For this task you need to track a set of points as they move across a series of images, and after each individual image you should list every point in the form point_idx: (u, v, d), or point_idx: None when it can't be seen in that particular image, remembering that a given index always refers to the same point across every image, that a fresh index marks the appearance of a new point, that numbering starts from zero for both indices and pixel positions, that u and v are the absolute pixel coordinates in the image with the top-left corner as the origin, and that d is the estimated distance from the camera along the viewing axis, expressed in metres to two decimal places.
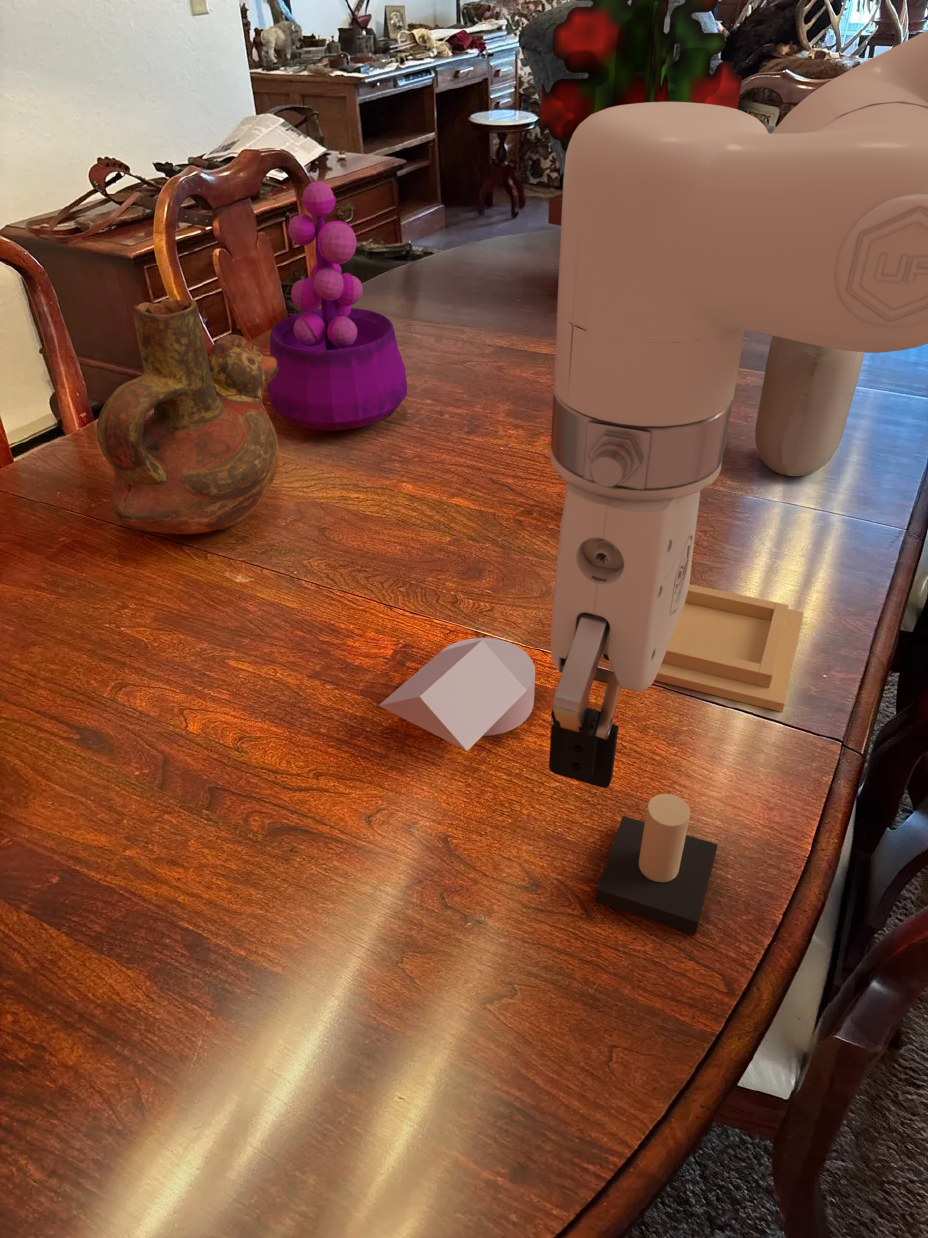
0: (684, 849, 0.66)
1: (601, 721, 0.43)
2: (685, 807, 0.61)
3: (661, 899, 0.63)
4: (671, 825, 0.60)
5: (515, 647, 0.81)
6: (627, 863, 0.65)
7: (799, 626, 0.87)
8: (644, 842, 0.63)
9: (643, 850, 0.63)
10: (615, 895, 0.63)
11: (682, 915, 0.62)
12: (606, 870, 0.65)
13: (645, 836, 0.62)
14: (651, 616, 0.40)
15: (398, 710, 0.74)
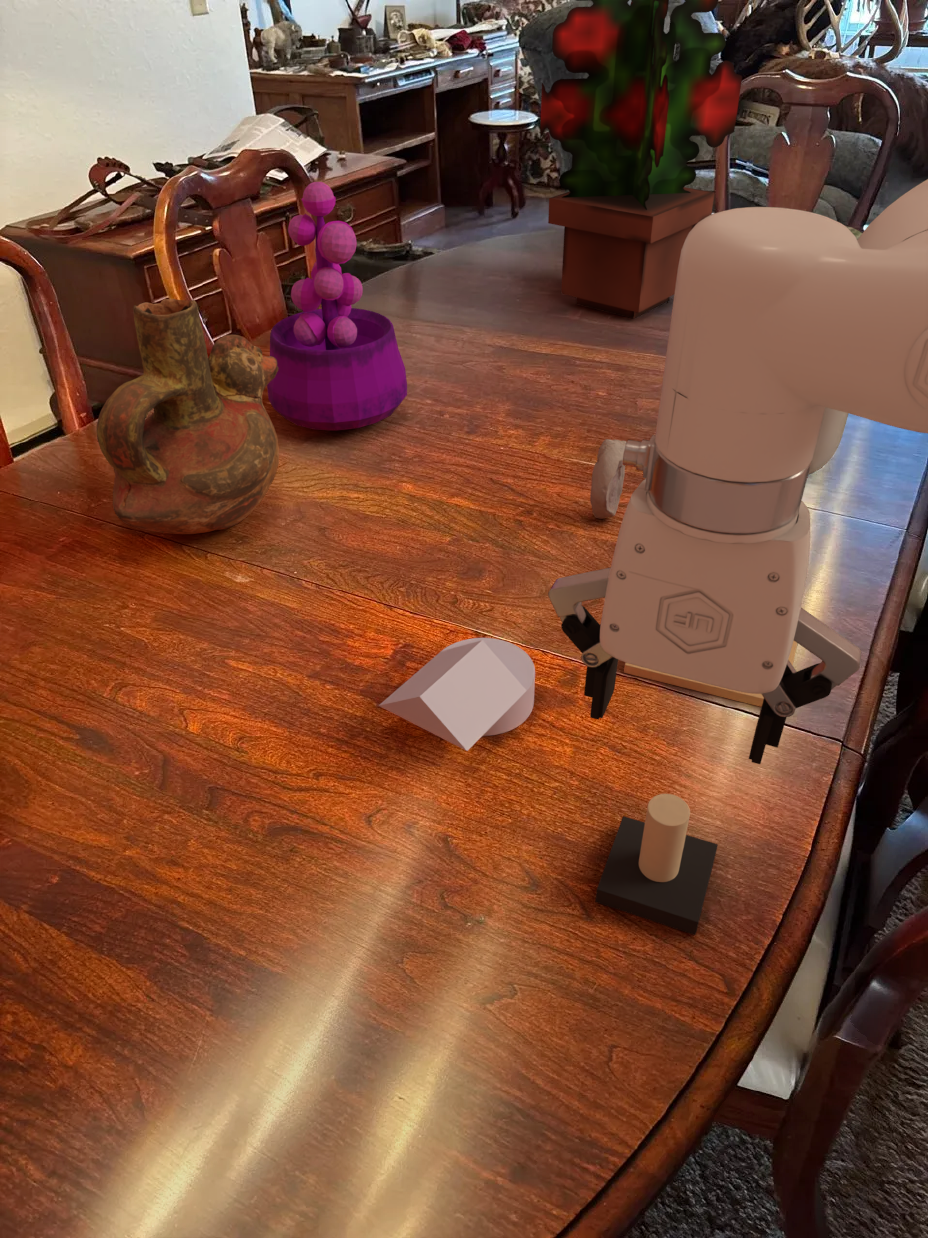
0: (684, 849, 0.66)
1: (587, 647, 0.54)
2: (685, 807, 0.61)
3: (661, 899, 0.63)
4: (671, 825, 0.60)
5: (515, 647, 0.81)
6: (627, 863, 0.65)
7: None
8: (644, 842, 0.63)
9: (643, 850, 0.63)
10: (615, 895, 0.63)
11: (682, 915, 0.62)
12: (606, 870, 0.65)
13: (645, 836, 0.62)
14: (610, 587, 0.50)
15: (398, 710, 0.74)
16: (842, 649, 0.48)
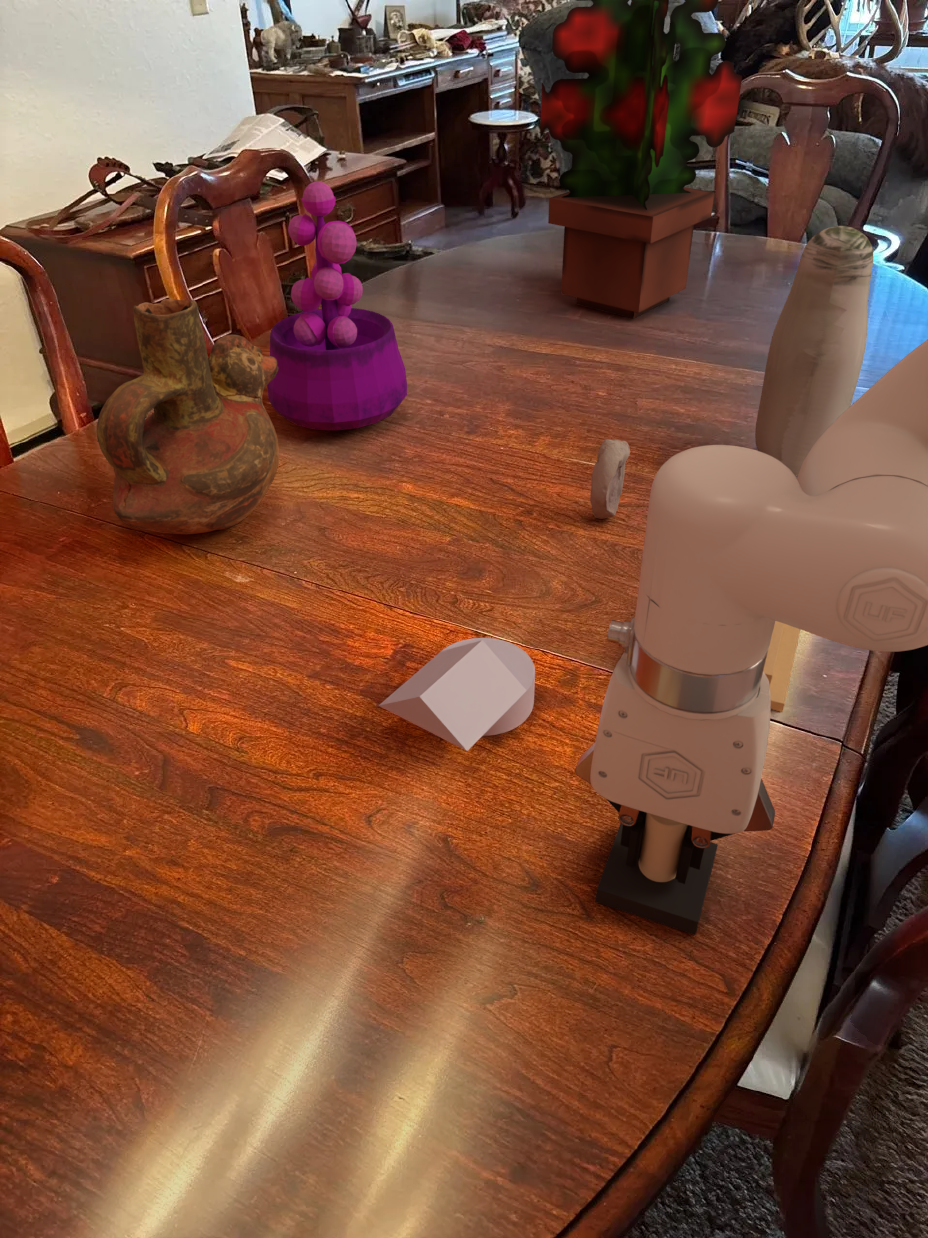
0: None
1: None
2: None
3: (661, 899, 0.63)
4: (671, 825, 0.60)
5: (515, 647, 0.81)
6: None
7: None
8: (644, 842, 0.63)
9: (643, 850, 0.63)
10: (615, 895, 0.63)
11: (682, 915, 0.62)
12: (606, 870, 0.65)
13: (645, 836, 0.62)
14: (598, 741, 0.57)
15: (398, 710, 0.74)
16: (768, 813, 0.57)
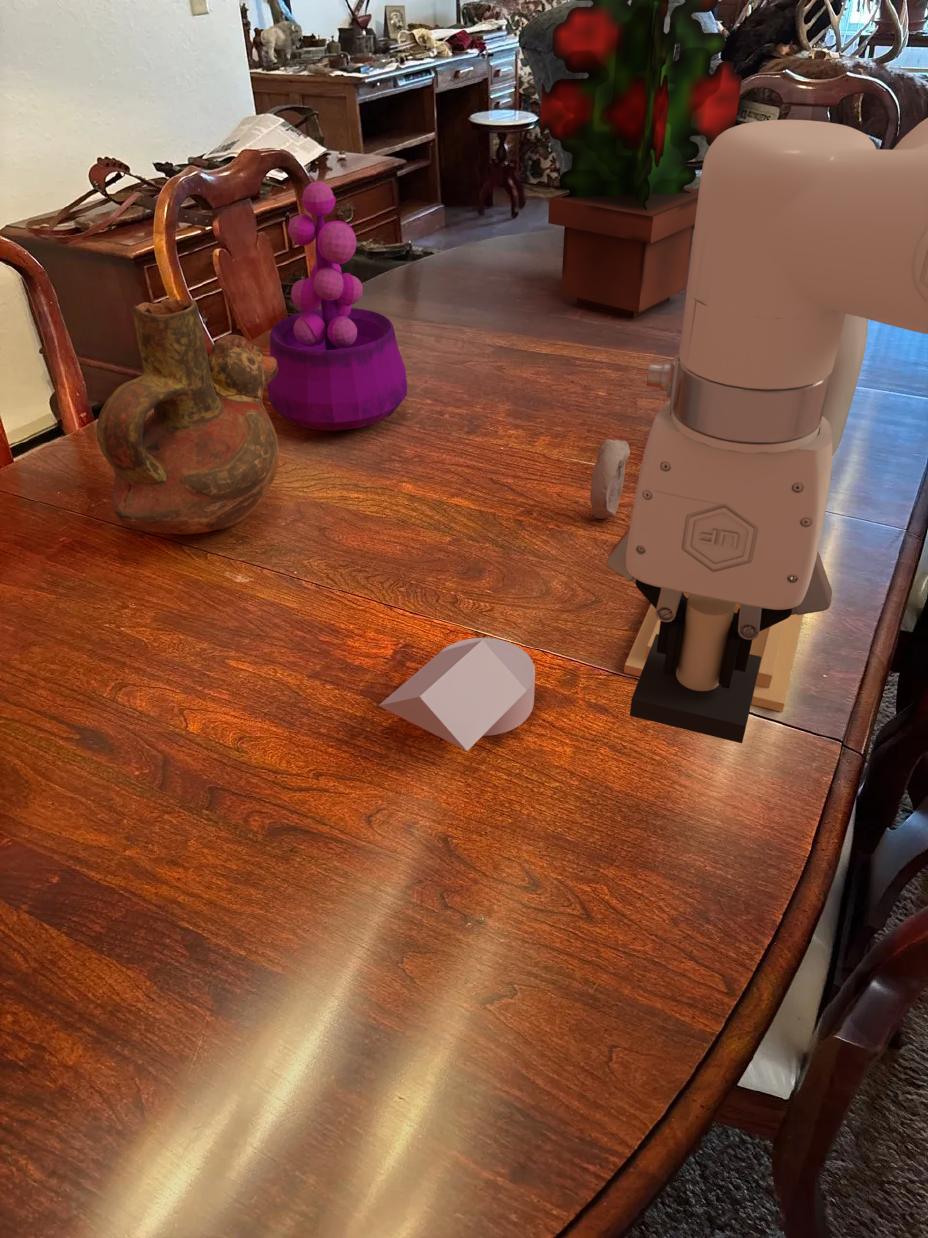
0: None
1: None
2: None
3: (704, 706, 0.57)
4: (716, 614, 0.54)
5: (515, 647, 0.81)
6: (663, 675, 0.59)
7: (799, 626, 0.87)
8: (683, 644, 0.57)
9: (682, 655, 0.57)
10: (653, 703, 0.57)
11: (727, 720, 0.56)
12: (641, 682, 0.59)
13: (685, 636, 0.56)
14: (636, 508, 0.51)
15: (398, 710, 0.74)
16: (825, 587, 0.51)
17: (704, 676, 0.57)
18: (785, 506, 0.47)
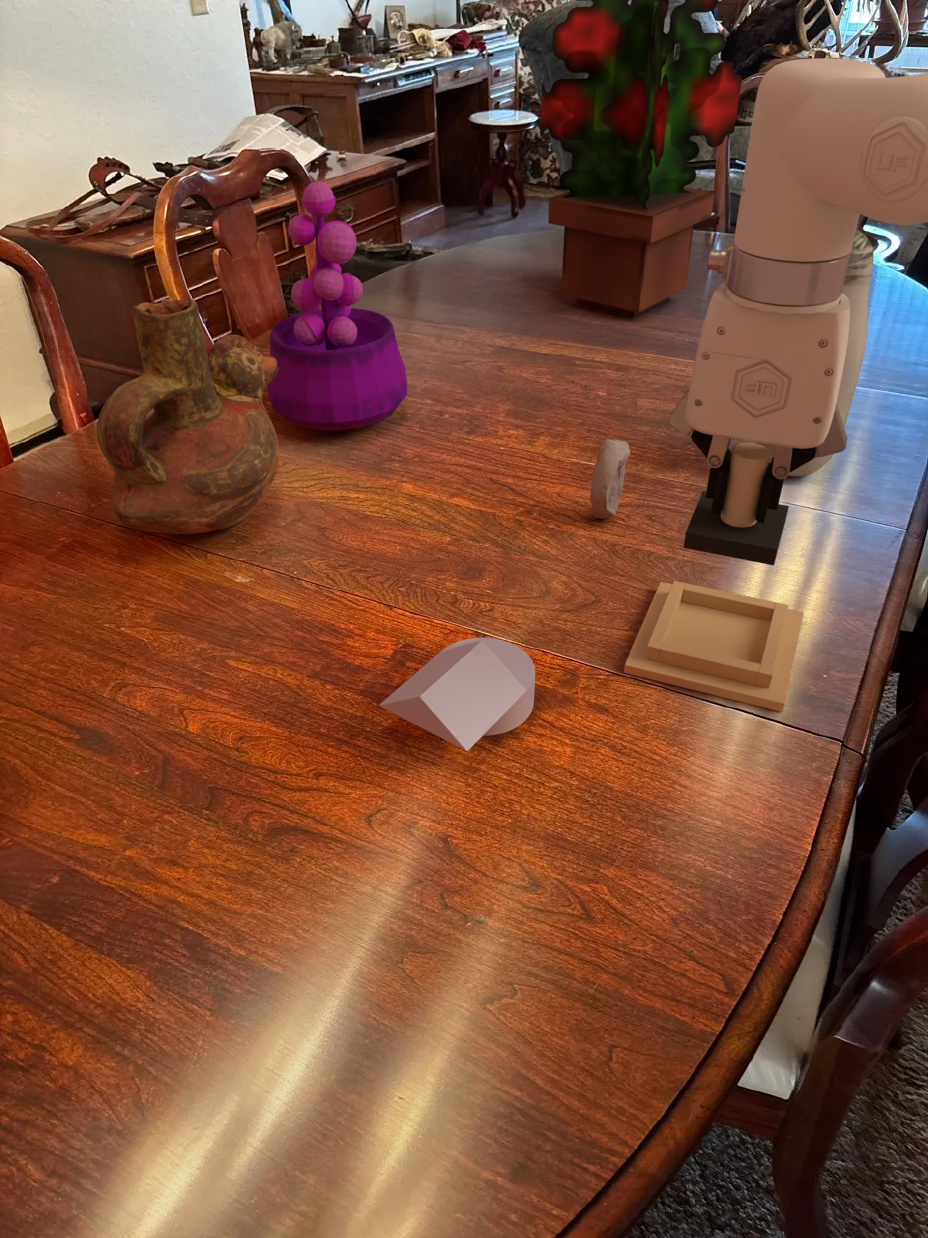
0: None
1: None
2: (766, 449, 0.70)
3: (743, 537, 0.71)
4: (755, 459, 0.69)
5: (515, 647, 0.81)
6: (710, 517, 0.74)
7: (799, 626, 0.87)
8: (728, 487, 0.72)
9: (726, 497, 0.72)
10: (703, 535, 0.72)
11: (762, 546, 0.70)
12: (692, 521, 0.73)
13: (729, 480, 0.71)
14: (696, 367, 0.65)
15: (398, 710, 0.74)
16: (842, 432, 0.66)
17: (744, 514, 0.72)
18: (813, 359, 0.62)
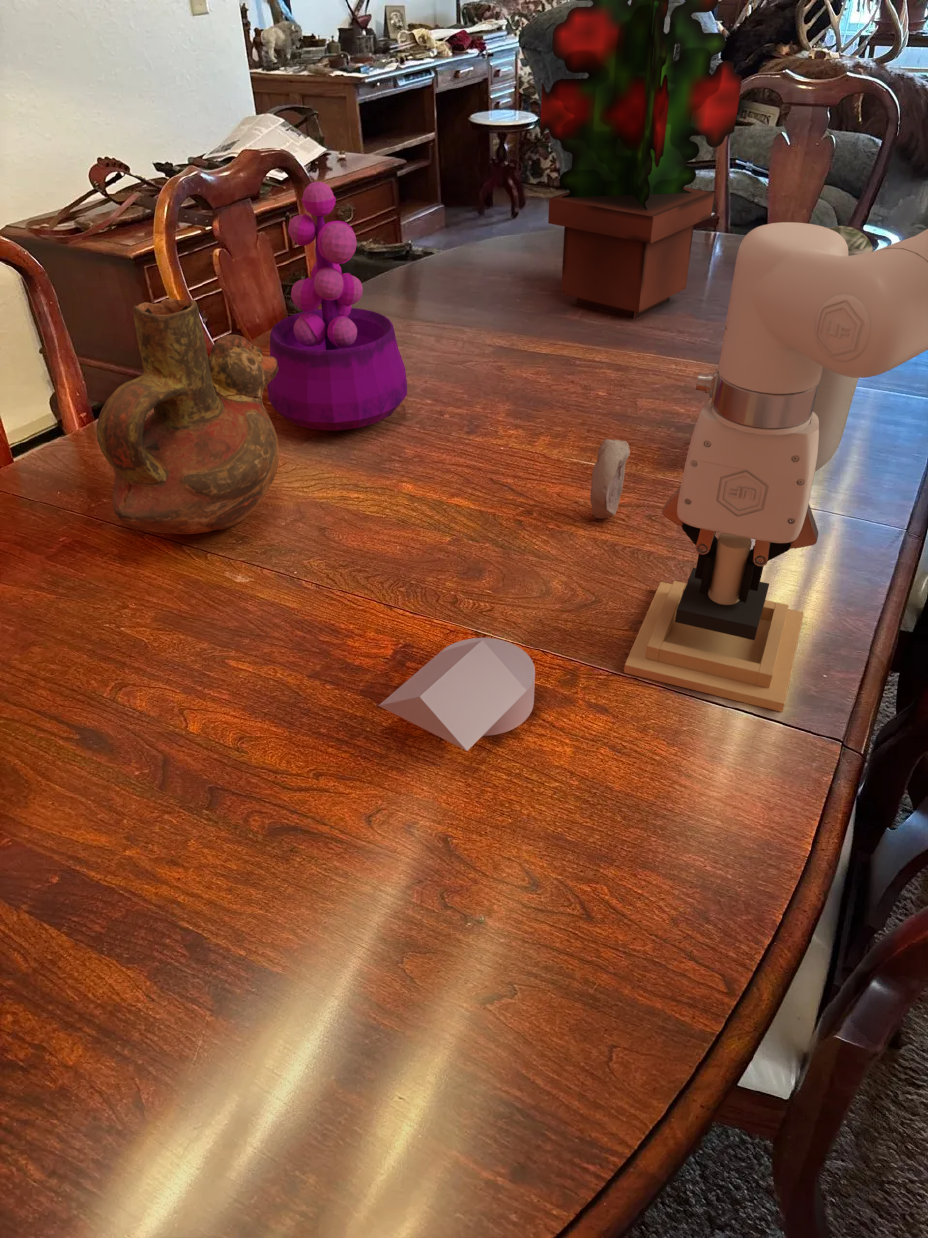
0: None
1: None
2: (748, 538, 0.79)
3: (728, 614, 0.81)
4: (738, 548, 0.78)
5: (515, 647, 0.81)
6: (699, 594, 0.83)
7: (799, 626, 0.87)
8: (714, 570, 0.81)
9: (713, 578, 0.81)
10: (692, 612, 0.81)
11: (744, 623, 0.80)
12: (683, 598, 0.83)
13: (715, 564, 0.81)
14: (686, 472, 0.75)
15: (398, 710, 0.74)
16: (813, 529, 0.75)
17: (728, 593, 0.81)
18: (787, 471, 0.71)
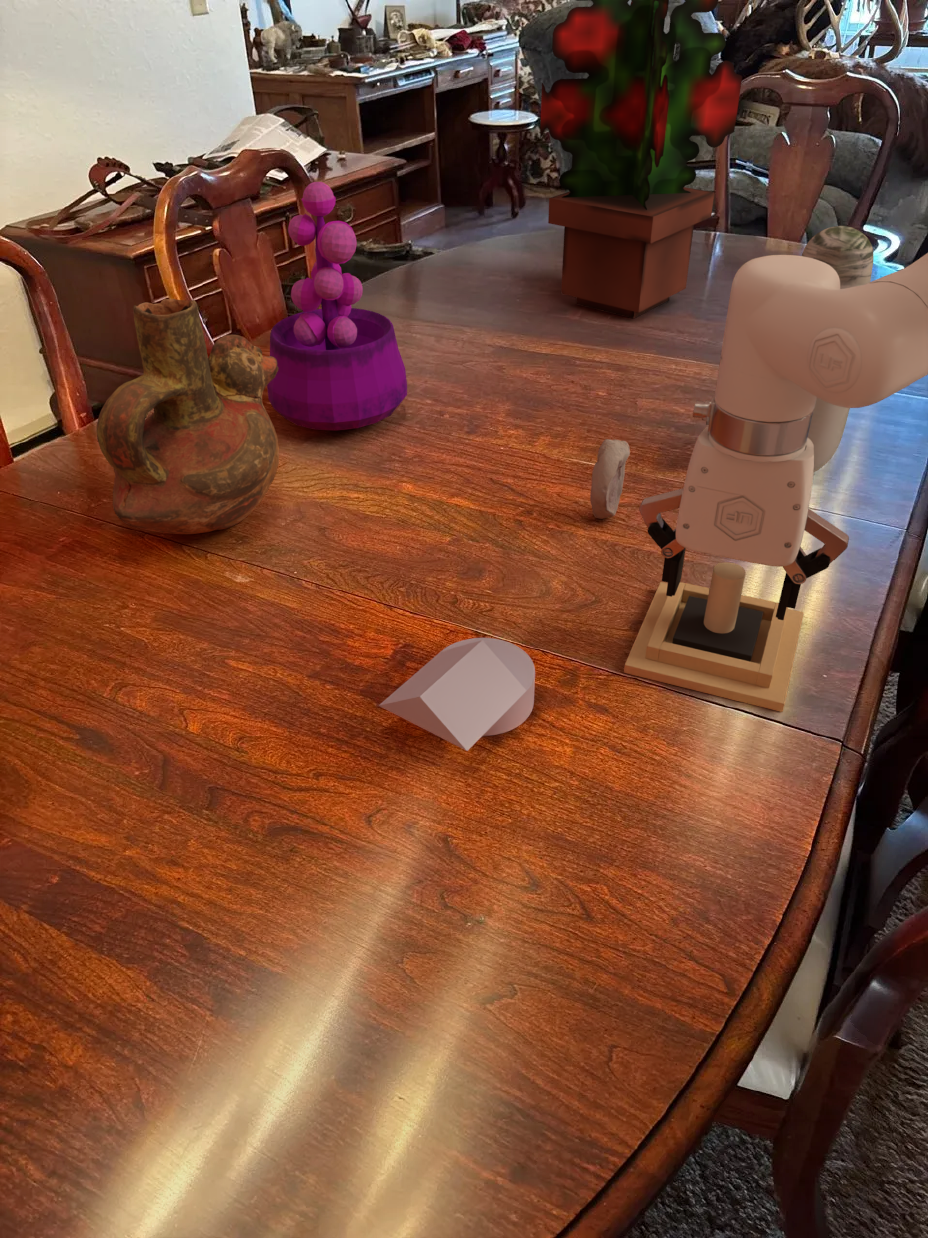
0: (738, 614, 0.86)
1: (665, 544, 0.81)
2: (742, 569, 0.81)
3: (723, 643, 0.83)
4: (732, 579, 0.80)
5: (515, 647, 0.81)
6: (695, 622, 0.85)
7: (799, 626, 0.87)
8: (709, 600, 0.83)
9: (708, 608, 0.83)
10: (687, 641, 0.83)
11: (739, 652, 0.82)
12: (679, 627, 0.85)
13: (710, 594, 0.82)
14: (684, 497, 0.76)
15: (398, 710, 0.74)
16: (836, 534, 0.75)
17: (723, 622, 0.83)
18: (783, 496, 0.72)
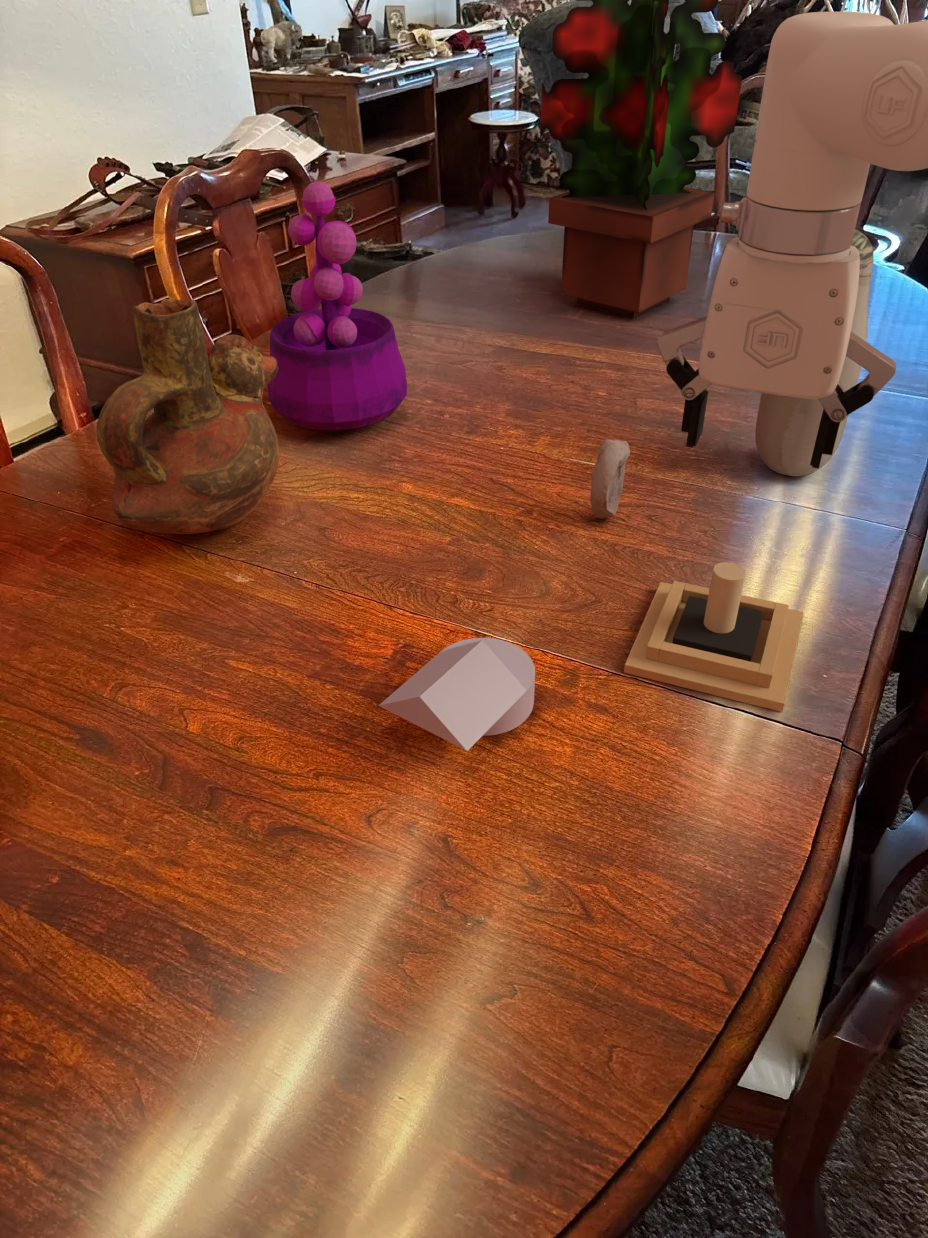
0: (738, 614, 0.86)
1: (686, 383, 0.72)
2: (742, 569, 0.81)
3: (723, 643, 0.83)
4: (732, 579, 0.80)
5: (515, 647, 0.81)
6: (695, 622, 0.85)
7: (799, 626, 0.87)
8: (709, 600, 0.83)
9: (708, 608, 0.83)
10: (687, 641, 0.83)
11: (739, 652, 0.82)
12: (679, 627, 0.85)
13: (710, 594, 0.82)
14: (709, 319, 0.67)
15: (398, 710, 0.74)
16: (882, 358, 0.66)
17: (723, 622, 0.83)
18: (824, 308, 0.63)
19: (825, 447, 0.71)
